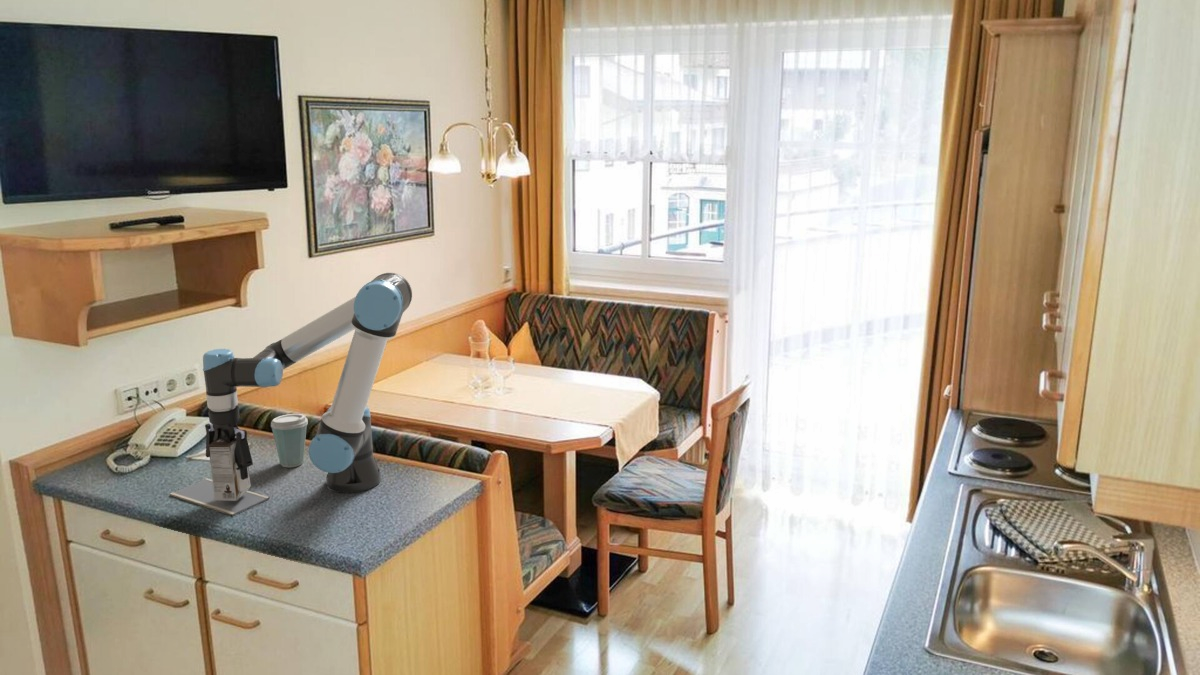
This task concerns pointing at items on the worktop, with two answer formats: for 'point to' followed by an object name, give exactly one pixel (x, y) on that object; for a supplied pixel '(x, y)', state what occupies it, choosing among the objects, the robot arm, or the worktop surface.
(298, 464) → the disposable coffee cup
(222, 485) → the coffee box
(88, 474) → the worktop surface
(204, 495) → the felt mat
